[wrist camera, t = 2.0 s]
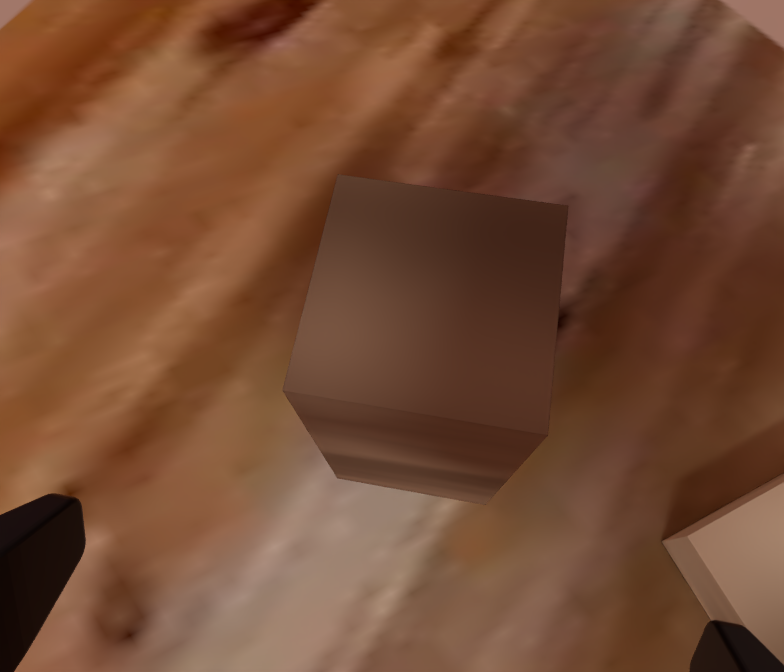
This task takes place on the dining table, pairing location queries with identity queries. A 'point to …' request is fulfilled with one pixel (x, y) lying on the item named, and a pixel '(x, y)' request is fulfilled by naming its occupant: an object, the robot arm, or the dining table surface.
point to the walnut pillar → (429, 336)
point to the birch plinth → (739, 562)
